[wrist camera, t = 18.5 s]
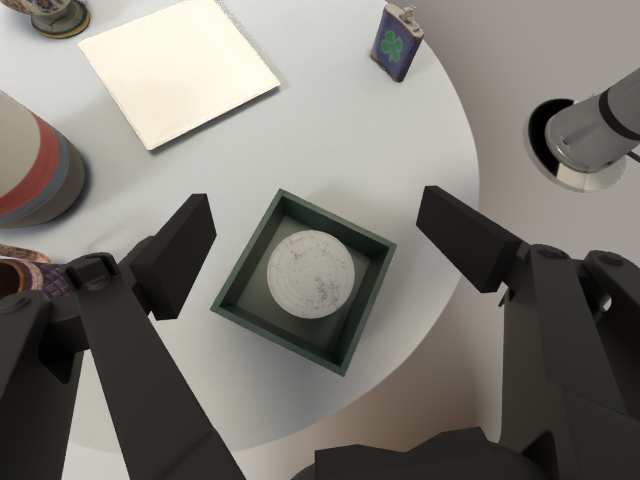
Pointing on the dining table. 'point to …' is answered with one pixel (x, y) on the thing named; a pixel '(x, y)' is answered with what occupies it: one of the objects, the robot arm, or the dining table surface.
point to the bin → (278, 324)
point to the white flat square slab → (177, 69)
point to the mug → (30, 273)
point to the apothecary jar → (53, 15)
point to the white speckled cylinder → (310, 274)
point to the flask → (396, 41)
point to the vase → (34, 168)
